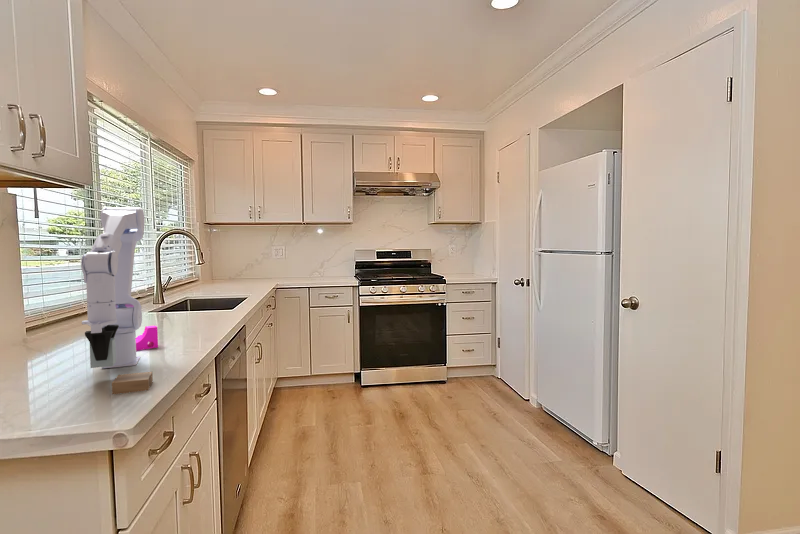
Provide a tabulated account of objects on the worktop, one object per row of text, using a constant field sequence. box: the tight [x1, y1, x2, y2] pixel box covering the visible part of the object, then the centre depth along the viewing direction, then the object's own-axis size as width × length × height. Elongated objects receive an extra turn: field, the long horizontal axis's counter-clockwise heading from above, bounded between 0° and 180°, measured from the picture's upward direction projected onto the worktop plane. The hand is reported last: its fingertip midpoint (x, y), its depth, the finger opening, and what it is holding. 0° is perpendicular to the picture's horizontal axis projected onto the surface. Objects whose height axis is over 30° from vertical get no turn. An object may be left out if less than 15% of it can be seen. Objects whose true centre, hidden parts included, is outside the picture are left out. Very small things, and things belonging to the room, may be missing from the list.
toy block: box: [136, 325, 159, 352], centre depth 141 cm, size 15×6×8 cm, turn 130°
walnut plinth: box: [111, 371, 154, 395], centre depth 104 cm, size 7×7×3 cm
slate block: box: [89, 338, 116, 369], centre depth 110 cm, size 4×4×6 cm
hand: (103, 357), depth 110 cm, fingers closed on slate block, 4 cm apart
